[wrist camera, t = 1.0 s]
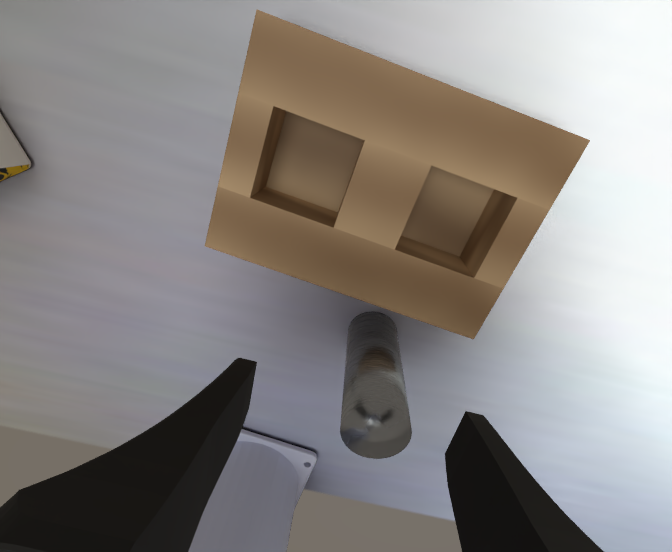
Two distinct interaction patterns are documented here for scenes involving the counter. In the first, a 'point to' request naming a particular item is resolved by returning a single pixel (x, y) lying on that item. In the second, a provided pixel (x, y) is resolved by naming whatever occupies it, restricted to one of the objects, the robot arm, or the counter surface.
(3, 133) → the medicine bottle
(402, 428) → the steel pin
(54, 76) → the counter surface
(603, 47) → the counter surface
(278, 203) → the hole block
